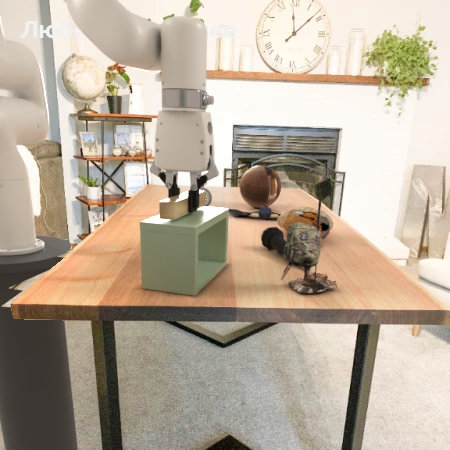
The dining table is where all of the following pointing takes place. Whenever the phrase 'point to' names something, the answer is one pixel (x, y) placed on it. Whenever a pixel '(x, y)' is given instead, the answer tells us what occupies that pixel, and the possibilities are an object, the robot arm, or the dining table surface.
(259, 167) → the wooden sphere
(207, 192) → the pocket watch
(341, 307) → the dining table surface
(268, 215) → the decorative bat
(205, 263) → the shelf
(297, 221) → the nautilus
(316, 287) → the plant with pod
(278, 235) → the microphone
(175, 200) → the stick
